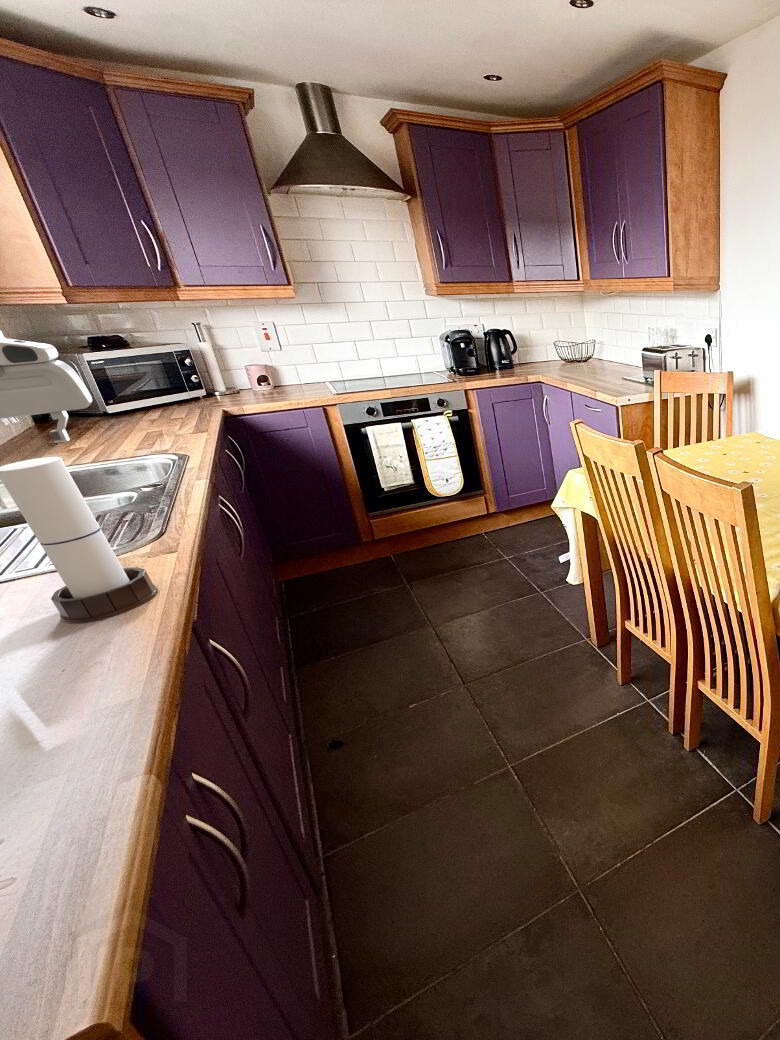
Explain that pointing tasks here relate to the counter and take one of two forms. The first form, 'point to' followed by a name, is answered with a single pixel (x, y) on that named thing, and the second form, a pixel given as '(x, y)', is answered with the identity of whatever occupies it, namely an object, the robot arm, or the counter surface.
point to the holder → (106, 599)
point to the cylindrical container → (63, 525)
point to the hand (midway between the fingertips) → (20, 447)
